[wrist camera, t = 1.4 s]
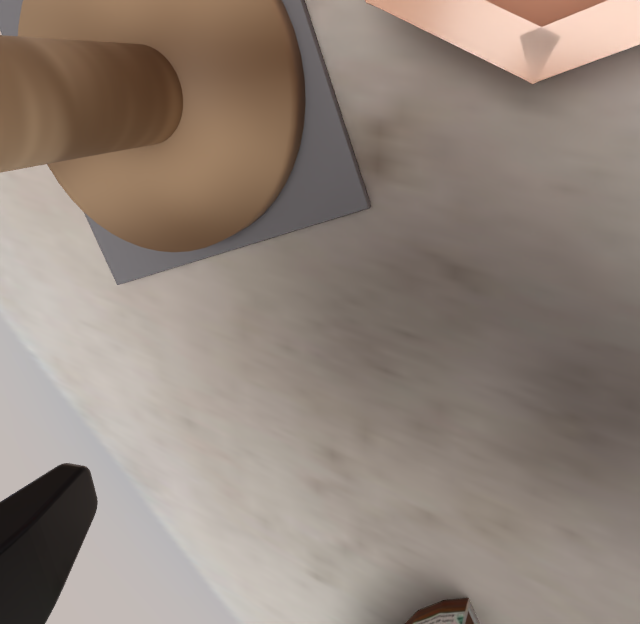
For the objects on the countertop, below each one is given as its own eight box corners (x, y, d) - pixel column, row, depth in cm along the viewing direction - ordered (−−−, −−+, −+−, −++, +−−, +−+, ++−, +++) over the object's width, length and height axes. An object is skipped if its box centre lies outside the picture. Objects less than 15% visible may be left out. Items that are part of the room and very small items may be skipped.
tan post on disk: (350, 198, 19) (143, 323, 10) (120, 271, 24) (-164, 401, 15) (229, -167, 16) (-226, -491, 7) (-2, 2, 21) (-448, -52, 12)
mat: (370, 206, 19) (368, 208, 19) (121, 282, 25) (117, 285, 24) (241, -193, 16) (236, -198, 16) (-10, -5, 22) (-17, -6, 21)
